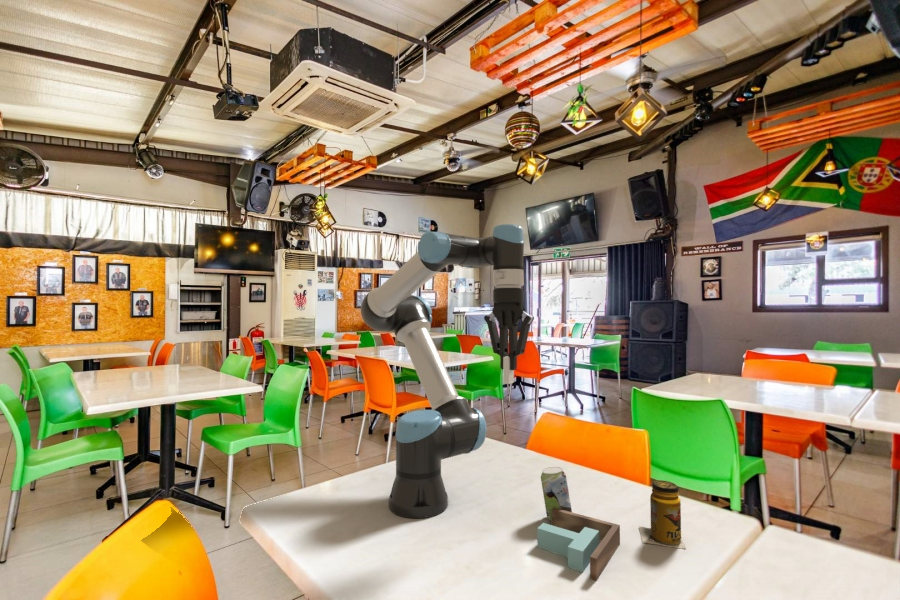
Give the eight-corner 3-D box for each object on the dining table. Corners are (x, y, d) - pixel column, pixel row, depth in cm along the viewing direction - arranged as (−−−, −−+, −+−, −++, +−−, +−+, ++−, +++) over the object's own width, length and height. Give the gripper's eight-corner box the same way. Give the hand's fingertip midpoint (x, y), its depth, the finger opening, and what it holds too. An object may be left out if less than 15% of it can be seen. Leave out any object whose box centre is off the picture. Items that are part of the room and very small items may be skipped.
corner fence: (523, 555, 91) (522, 535, 92) (553, 524, 105) (553, 507, 105) (596, 580, 83) (596, 558, 83) (619, 544, 96) (619, 525, 96)
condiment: (686, 549, 94) (685, 491, 94) (642, 543, 96) (641, 487, 97) (679, 533, 101) (678, 479, 101) (638, 527, 103) (638, 475, 104)
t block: (530, 554, 92) (530, 534, 92) (549, 534, 100) (549, 516, 100) (583, 572, 86) (582, 551, 86) (599, 550, 94) (599, 530, 94)
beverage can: (573, 527, 104) (572, 474, 104) (541, 524, 105) (540, 472, 105) (571, 515, 110) (571, 465, 110) (540, 512, 111) (540, 463, 112)
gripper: (478, 287, 111) (478, 382, 111) (525, 285, 104) (526, 387, 103) (493, 289, 118) (493, 379, 117) (539, 287, 110) (539, 383, 109)
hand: (508, 383), depth 110 cm, fingers closed
